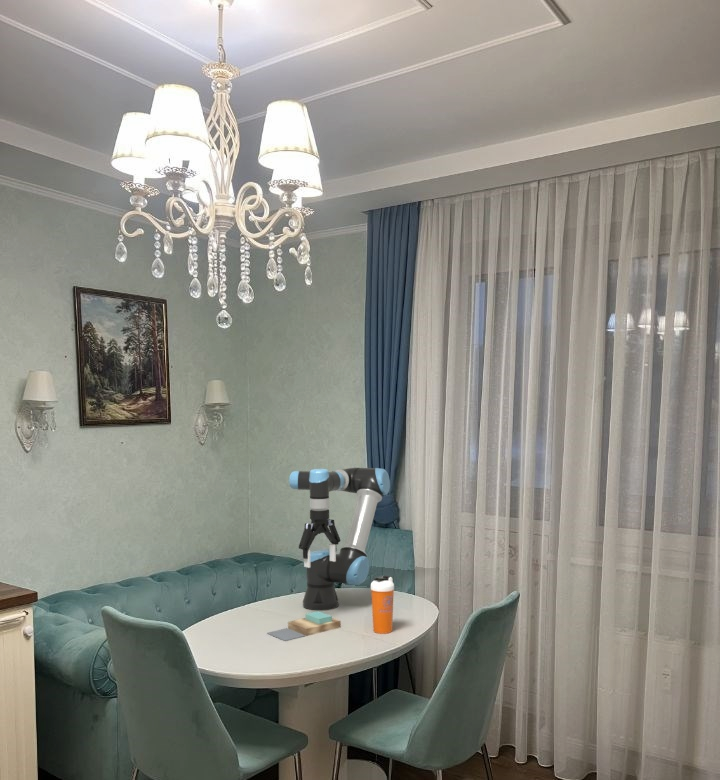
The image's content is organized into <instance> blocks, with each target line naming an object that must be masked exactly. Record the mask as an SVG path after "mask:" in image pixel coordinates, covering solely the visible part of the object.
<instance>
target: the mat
mask: <svg viewBox="0 0 720 780" xmlns="http://www.w3.org/2000/svg"><path fill="white" fill-rule="evenodd" d="M266 635H269V636H271V637H275V638H276V639H279V640H281V641H283V642H287V641H291V640H296V639H301V638H304V637H306V635H303V634H301V633H298V632H296V631H293V630H291V629H288V627H286V628H282V629H277V630H273V631H269V632H266Z"/></svg>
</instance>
